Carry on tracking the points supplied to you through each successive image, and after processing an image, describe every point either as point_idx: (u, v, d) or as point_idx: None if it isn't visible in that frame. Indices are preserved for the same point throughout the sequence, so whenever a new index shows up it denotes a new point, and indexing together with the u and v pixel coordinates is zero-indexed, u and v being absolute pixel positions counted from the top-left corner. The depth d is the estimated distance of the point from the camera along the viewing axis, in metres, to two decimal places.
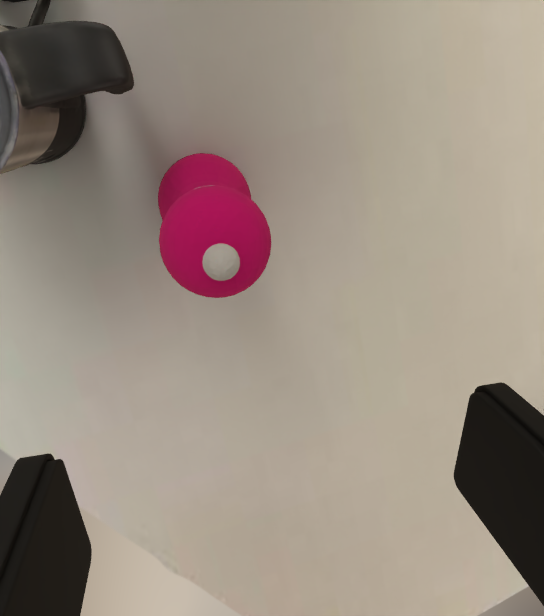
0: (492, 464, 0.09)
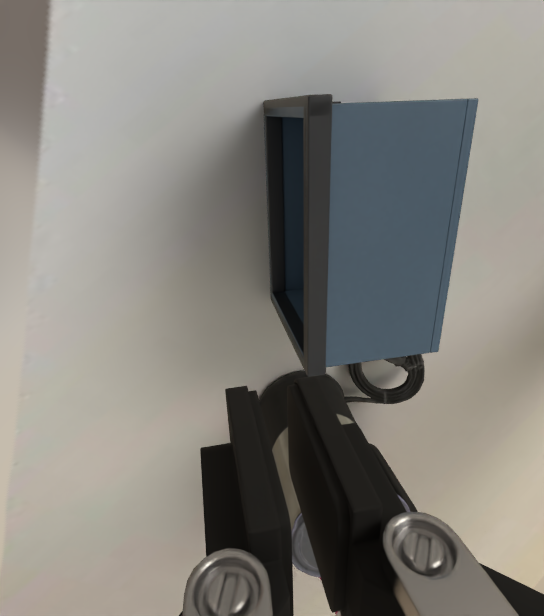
0: (298, 453, 0.10)
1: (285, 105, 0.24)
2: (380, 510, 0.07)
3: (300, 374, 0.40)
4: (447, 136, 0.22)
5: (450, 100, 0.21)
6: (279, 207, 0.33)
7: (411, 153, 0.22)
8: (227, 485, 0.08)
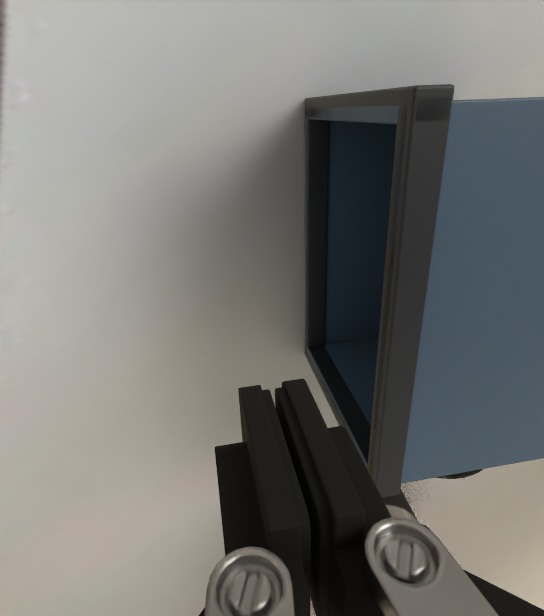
0: None
1: (351, 104, 0.16)
2: (363, 516, 0.07)
3: None
4: None
5: None
6: (321, 240, 0.25)
7: None
8: (243, 484, 0.08)
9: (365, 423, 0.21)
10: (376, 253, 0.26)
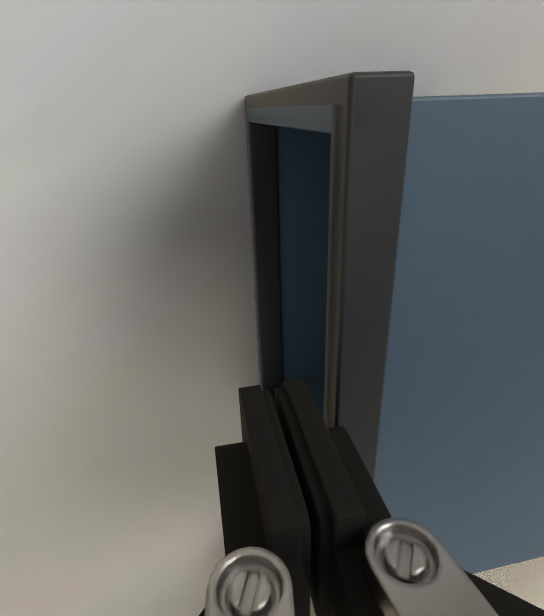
0: None
1: (283, 103, 0.11)
2: (363, 515, 0.07)
3: None
4: None
5: None
6: (273, 269, 0.20)
7: None
8: (243, 484, 0.08)
9: None
10: None
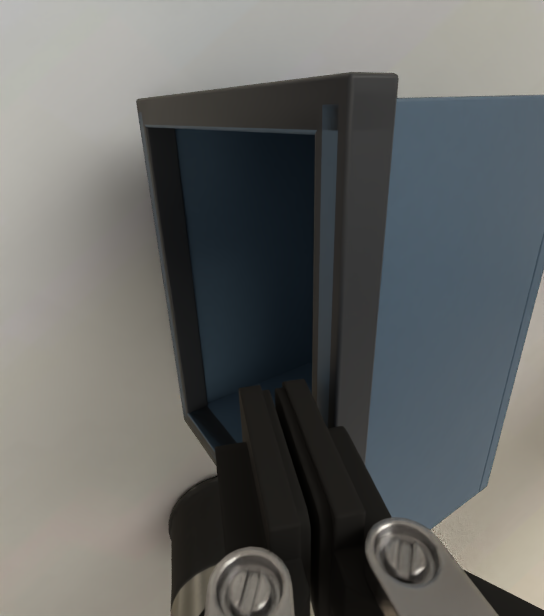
0: None
1: (220, 105, 0.11)
2: (363, 516, 0.07)
3: None
4: None
5: None
6: (186, 281, 0.19)
7: (500, 200, 0.11)
8: (243, 484, 0.08)
9: None
10: (253, 286, 0.22)
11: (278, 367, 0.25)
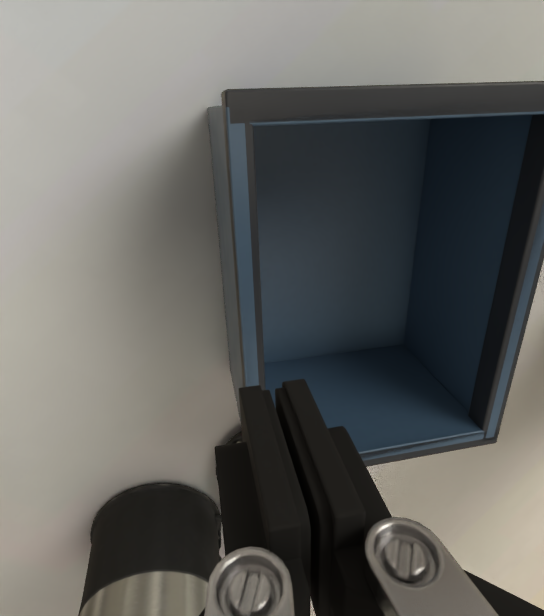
0: None
1: (456, 97, 0.13)
2: (363, 516, 0.07)
3: (145, 490, 0.29)
4: None
5: None
6: None
7: None
8: (243, 484, 0.08)
9: (422, 426, 0.21)
10: None
11: None
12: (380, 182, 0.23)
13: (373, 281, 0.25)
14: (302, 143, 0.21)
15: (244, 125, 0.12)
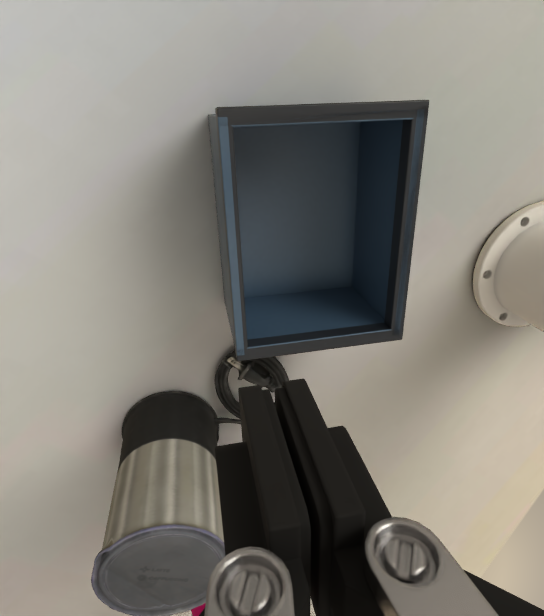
0: None
1: (348, 110, 0.23)
2: (363, 516, 0.07)
3: (163, 395, 0.39)
4: None
5: None
6: None
7: None
8: (243, 484, 0.08)
9: (351, 327, 0.31)
10: None
11: None
12: (327, 165, 0.33)
13: (326, 237, 0.35)
14: (272, 138, 0.31)
15: (227, 126, 0.23)
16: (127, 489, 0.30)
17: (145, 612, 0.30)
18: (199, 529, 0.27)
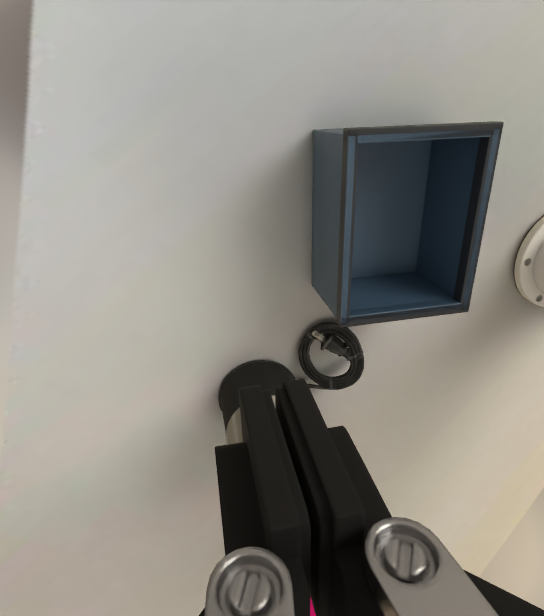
0: None
1: (443, 130, 0.31)
2: (363, 515, 0.07)
3: (255, 363, 0.46)
4: None
5: None
6: None
7: None
8: (242, 484, 0.08)
9: (427, 302, 0.38)
10: None
11: None
12: (404, 170, 0.40)
13: (398, 230, 0.43)
14: (362, 149, 0.39)
15: (355, 143, 0.30)
16: None
17: None
18: None
